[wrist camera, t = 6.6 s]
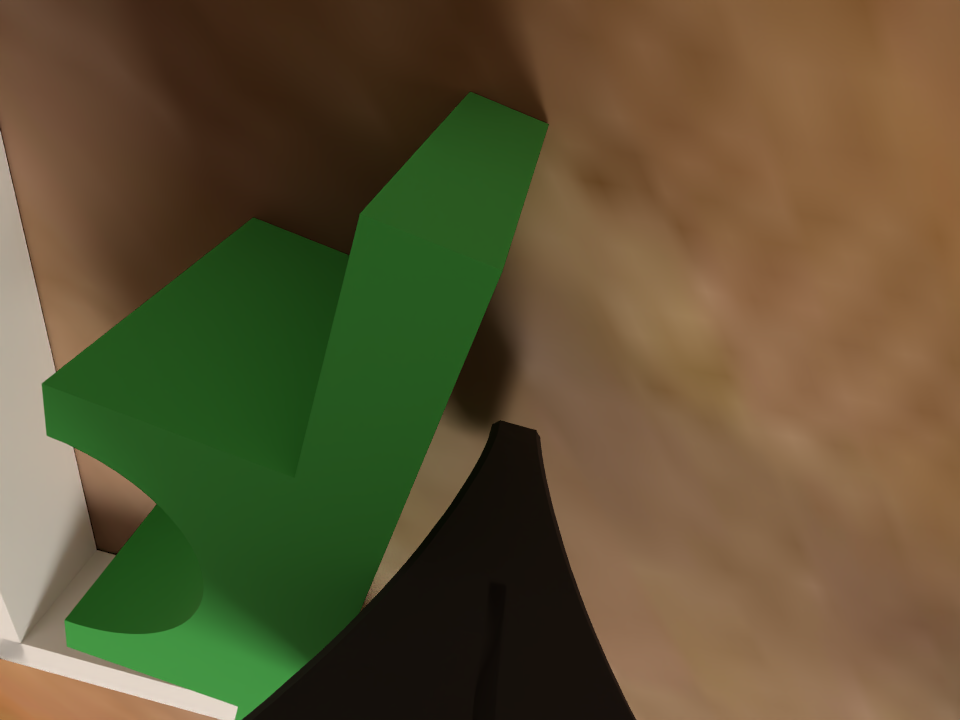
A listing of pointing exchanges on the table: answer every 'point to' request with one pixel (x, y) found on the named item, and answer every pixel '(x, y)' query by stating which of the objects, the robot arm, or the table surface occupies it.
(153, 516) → the pipe clamp
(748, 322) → the table surface
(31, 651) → the white u-shaped frame
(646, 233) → the table surface
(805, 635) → the table surface
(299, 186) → the table surface
